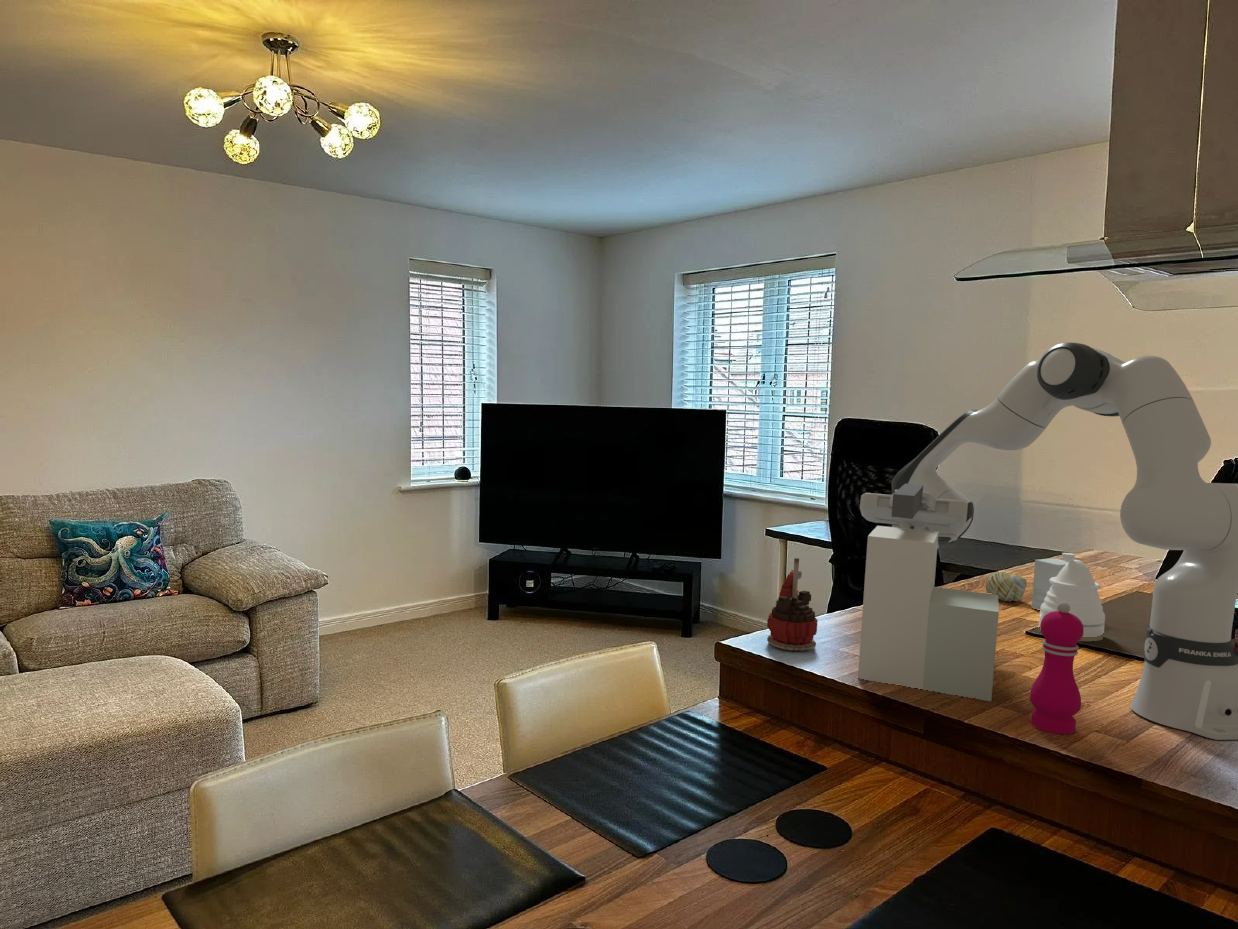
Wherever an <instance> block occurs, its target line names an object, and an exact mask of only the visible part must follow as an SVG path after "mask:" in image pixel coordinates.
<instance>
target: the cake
mask: <svg viewBox="0 0 1238 929" xmlns="http://www.w3.org/2000/svg"><path fill="white" fill-rule="evenodd" d="M799 565H800V558H799V557H795V558H794V562H793V569H791V571H790V572H789V573H788V574H787V576H786V578H785V579H784V581H783V583H782V585H781V588H780V592H779V596H778V598H776V600H775V606H773V607H772V609H771V612H770V613H769V615H768V618H767V621H766V622H767V623H766V626H767V629H768V630H769V632H770V633H769V635H768V636H767V637H766V638H767V640H766V641H767V643H768V644H769V645H772V646H773V647H776V648H778V649H782V650H786V649H787V650H786V651H789V650H790V651H793V650H795V651H797V650H800V651H805V650H806V651H810V650H813V649H815V648H816V645H817V642H816V641H815V639H814V638H815V635H817V633H818V622H819V621H818V620H819V619H818V618H816V611H814V610H813V607H810V602H811V601H812V594H811V592H810V591H808V590H801V591H799V590H798V584H799V583H798V582H799V580H800V579H801V578H802V576H803V575H802V574H803V572H802V570H800V569H799V567H800V566H799Z"/></svg>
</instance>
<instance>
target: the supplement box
mask: <svg viewBox="0 0 1238 929" xmlns="http://www.w3.org/2000/svg"><path fill="white" fill-rule="evenodd" d="M1067 563H1069V562H1065V561H1064V559H1060V558H1041V559H1034V572H1033V582H1032V584H1033V585H1032V594H1031V608H1035V609H1040V607H1041V605H1042V604H1043V603H1044V599H1045V597H1046V596H1047V592H1048V591H1049V590H1050V588H1051V586H1052V584H1051V583H1050V581H1049V580H1050V578H1052V577H1057V575H1058V574H1059V572H1060V571H1061V570H1062V568H1063V567H1064V566H1065V565H1066V564H1067ZM1040 610H1041V609H1040Z"/></svg>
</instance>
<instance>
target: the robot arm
mask: <svg viewBox="0 0 1238 929" xmlns="http://www.w3.org/2000/svg"><path fill="white" fill-rule="evenodd" d="M1170 363H1171V362H1169V361H1168V360H1166V359H1165V358H1163V357H1161V356H1156V355H1143V356H1138V357H1135V358H1132V359H1130V360H1128V361H1125V362H1124V360H1121V359H1119V358H1118V357H1116V356H1114V355H1112V354H1110V352H1106V351H1103V350H1101V349H1097V348H1094V347H1091V346H1089V345H1087V344H1083V343H1078V342H1063V343H1061V342H1060V343H1058V344H1055V345H1054V346H1052V347H1051V348H1049V349H1048V350H1047V351H1046V352H1044V354H1043V356H1042V357H1041V358H1040V359H1035V360H1032V361H1030V362H1029V363H1027V364H1026V365H1025V366H1023V368H1022V369H1020V370H1019V371H1018V372H1017V373H1016V374H1015V375H1014V376H1013V377H1012V378H1011V380H1010V381H1009V382H1008V383H1007V384H1006V385H1005V386H1004V387H1003V389H1002V390H1001V391H1000V392H999V394H997V396H996V398H994V400H993V401H992V402H991V403H989V404H988V405H987V406H985V407H983V408H981V409H970V410H968V411H966V412H964V413H962V414H961V415H960V416H958V418H956V419H955V420H954V421H952V422H951V423H950V424H949V425H948V426H947V427H946V428H945V429H944V430H943V431H942V432H941V433H940V434H939V435H937V437H936V438H935V439H933V440H932V442H930V443H929V444H928V445H927V446H926V447H925V448H924V449H923V450H922V451H921V452H920V453H919V454H918V455H916V457H915V458H913V459H912V460H911V461H910V462H908V463H907V464H906V465H904V466H903V467H902V468H901V469H900V470H899V471H897V473H896V474H895V475H894V477H892V480H891V494H885V493H884V494H882V493H874V492H873V493H871V492H865V493H863V494H862V495H860V502H859V503H860V504H859V510H860V514H861V516H862V517H863V518H864V519H865V520H866V521H868V522H872V523H877V524H889V525H891V527H896V528H906V529H916V530H926V531H936V532H938V545H937V550H938V549H939V547H943V546H948V545H950V544H951V545H952V544H953V543H955V542H956V541H958V539H960V538H961V537H962V536H963V535H964V534H965V533H966V532H967V531H968V530H969V528H970V526H971V525H972V523H973V519H974V517H975V516H974V513H975V506H974V502H973V501H971V500H970V499H969V498H967V496H965V495H964V494H963V493H961V491H959V490H958V489H956V487H953V486H952V485H951V484H949V482H947V481H946V480H945V479H944V478H942V477H941V476H940V475H939V474H938V472H937V468H938V467H939V466H940V465H941V464H942V463H943V462H944V461H945V460H946V459H947V458H948V457H949V456H951V454H953V453H954V452H955V451H956V450H957V449H958V448H959V447H960V446H962V445H964V444H966V443H974V444H979V445H982V446H986V447H988V448H992V449H996V450H1002V451H1018V450H1022V449H1025V448H1027V447H1030V446H1031V445H1032V444H1033V443H1034V442H1035V441H1036V440H1037V439H1038V438H1040V436H1041V435H1042V433H1043V432H1045V430H1046V429H1047V427H1048V426H1049V425H1050V423H1051V422H1052V421H1053V420H1054V418H1055V417H1056V415H1058V413H1059V412H1060V411H1062V410H1063V409H1064V408H1067V407H1073V406H1074V407H1075V408H1077V409H1080V410H1083V411H1086V412H1090V413H1093V414H1095V415H1097V416H1098V415H1099V416H1102V417H1119V418H1120V420H1121V423H1122V426H1123V428H1124V431H1125V434H1126V436H1127V438H1128V442H1129V444H1130V447H1131V450H1132V453H1133V456H1134V458H1135V464H1136V480H1135V483H1134V485H1133V487H1132V489H1131V490H1130V491H1129V492H1127V494H1126V495H1125V497H1124V499H1122V500H1123V501H1122V503H1121V506H1120V513H1119V515H1120V516H1119V517H1120V522H1121V523H1120V524H1121V525H1122V526H1121V527H1122V528H1123V530H1124V532H1125V533H1126V534H1125V535H1127V537H1129V538H1130V539H1131V541H1133V542H1135V543H1137V544H1140V545H1143V546H1148V547H1150V548H1151V547H1152V548H1157V549H1160V550H1164V551H1165V550H1166V551H1183V552H1182V554H1181V555H1180V557H1179V559H1178V560H1177V562H1176V563H1175V564H1174V565H1173V567H1171V568H1170V569H1169V570H1167V571H1166V572H1164V573H1163V574H1161V575H1160V576H1159V577H1158V578H1157V579H1156V580H1155V583H1154V586H1153V590H1152V592H1153V593H1152V602H1151V611H1150V612H1151V613H1150V622H1149V625H1148V626H1146V631H1145V637H1144V638H1145V639H1144V646H1143V647H1144V649H1143V659H1144V662H1143V669H1142V671H1141V672H1142V673H1141V677H1140V679H1139V683H1138V687H1137V689H1136V691H1135V693H1134V696H1133V698H1132V700H1131V702H1130V705H1129V707H1130V709H1131V710H1132V711H1133V712H1134V713H1136V714H1137V715H1139V716H1141V717H1142V718H1145V719H1147V720H1150V721H1151V722H1154V723H1157V724H1160V725H1163V726H1166V727H1170V728H1173V729H1178V730H1182V731H1187V732H1190V733H1193V734H1196V735H1199V736H1202V737H1205V738H1209V739H1212V740H1216V741H1217V740H1218V741H1220V740H1221V741H1222V740H1225V741H1226V740H1227V741H1228V740H1238V642H1237V641H1235V640H1234V639H1232V630H1233V622H1234V615H1235V609H1236V602H1237V598H1238V483H1227V482H1226V483H1225V482H1223V483H1222V482H1206V481H1205V480H1204V479H1203V478H1202V476H1201V475H1200V472H1199V462H1201V461H1202V460H1203V459H1204V458H1205V457H1206V455H1207V454H1208V453H1209V450H1210V448H1211V446H1212V439H1211V436H1210V434H1209V432H1208V429H1207V427H1206V424H1205V423H1204V421H1203V418H1202V416H1201V414H1200V412H1199V409H1198V406H1197V405H1196V403H1195V401H1194V399H1193V397H1192V395H1191V392H1190V391H1189V389H1188V388H1187V386H1186V384H1185V382H1184V381H1183V379H1182V378H1181V376H1180V375H1179V374H1178V372H1177V370H1176V369H1175V368H1174V367H1173V365H1171V364H1170ZM904 484H916V485H924V486H923V492H921V503H922V506H921V507H920V509H919V510H918V512H917V513H916V515H915V516H914V517H913V519H910V518H899V517H892V504H893V494H894V493H895V492H896V491H897V490H898V489H899V488H901V487H902V486H903V485H904Z"/></svg>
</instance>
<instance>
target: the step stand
mask: <svg viewBox="0 0 1238 929" xmlns="http://www.w3.org/2000/svg"><path fill="white" fill-rule="evenodd" d="M866 543H867V544H866V559H865V573H864V584H863V585H864V587H863V589H864V590H863V601H862V616H861V628H860V630H861V631H860V644H859V655H858V656H859V658H858V659H859V660H858V669H857V670H858V672H857V679H858V678H860V679H859V680H861V679H864V680H863V681H867V680H868V682H873V681H876V682H875V683H879V682H881V683H880V684H885V683H888V684H887V685H891V684H899V685H903V686H907V687H906V688H908V687H911V688H910V689H914V688H918V689H917V690H920V689H923V690H922V691H926V690H928V691H927V692H932V691H935V692H934V693H938V692H940V693H939V694H944V693H945V695H951V696H955V695H959V696H958V697H961V696H963V698H967V697H968V699H973V698H976V699H975V700H979V699H980V701H986V702H992V697H993V687H994V686H993V684H994V675H995V674H994V672H995V662H996V652H997V651H996V649H997V637H998V636H997V635H998V626H999V614H1000V608H999V599H998V595H995V594H987V593H985V592H979V591H978V592H977V591H968V590H961V589H954V588H944V587H937V586H935V580H936V568H937V556H938V549H937V545H938V532H936V531H926V530H916V529H906V528H896V527H892V526H885V525H876V526H875V528H873V529H872V531H871V532H870V533H869V534H868V536H867V542H866Z"/></svg>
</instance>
